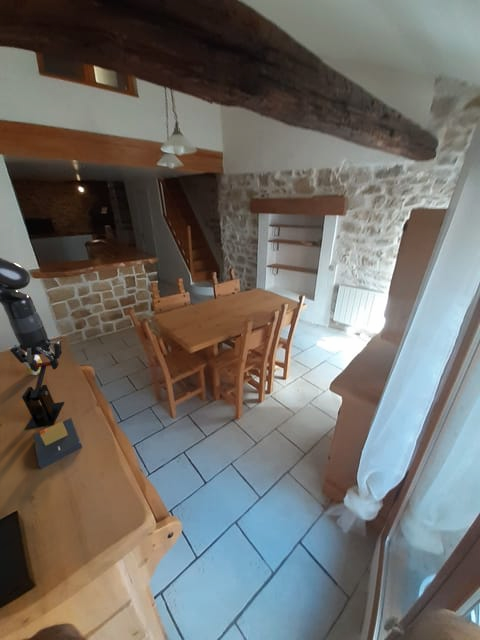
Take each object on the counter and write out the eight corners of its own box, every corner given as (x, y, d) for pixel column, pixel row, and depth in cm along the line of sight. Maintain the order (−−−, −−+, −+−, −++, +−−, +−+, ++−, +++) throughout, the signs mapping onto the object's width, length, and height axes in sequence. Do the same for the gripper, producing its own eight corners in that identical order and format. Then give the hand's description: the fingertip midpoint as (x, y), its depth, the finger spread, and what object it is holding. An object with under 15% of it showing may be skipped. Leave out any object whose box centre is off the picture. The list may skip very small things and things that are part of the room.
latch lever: (38, 365, 87) (34, 361, 86) (54, 363, 89) (51, 359, 87) (28, 401, 80) (23, 399, 78) (46, 399, 81) (42, 396, 79)
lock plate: (83, 449, 75) (80, 442, 73) (42, 471, 69) (38, 463, 67) (74, 424, 82) (71, 417, 81) (36, 441, 77) (32, 434, 75)
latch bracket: (39, 408, 88) (27, 382, 83) (65, 404, 90) (54, 378, 85) (26, 431, 80) (11, 404, 74) (54, 426, 81) (42, 399, 76)
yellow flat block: (66, 431, 76) (61, 420, 74) (67, 435, 75) (62, 424, 73) (44, 442, 73) (39, 431, 71) (45, 446, 72) (39, 434, 70)
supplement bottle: (46, 367, 108) (38, 348, 104) (44, 374, 104) (35, 355, 99) (31, 370, 106) (22, 351, 102) (28, 378, 102) (18, 358, 97)
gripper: (-6, 335, 75) (16, 379, 83) (49, 329, 78) (65, 372, 86) (7, 323, 81) (27, 365, 89) (58, 319, 85) (72, 359, 93)
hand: (46, 368), depth 88 cm, fingers closed on latch lever, 5 cm apart
